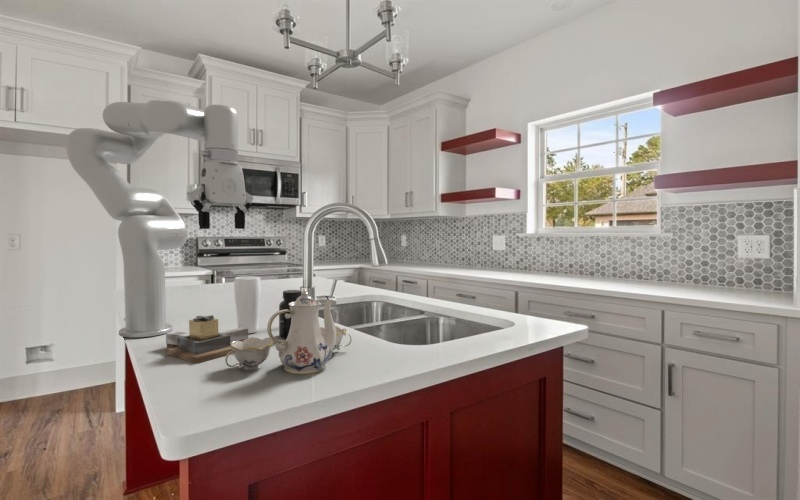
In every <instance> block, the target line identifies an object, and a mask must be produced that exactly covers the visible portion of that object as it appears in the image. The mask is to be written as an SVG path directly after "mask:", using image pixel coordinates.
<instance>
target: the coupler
mask: <svg viewBox="0 0 800 500" xmlns="http://www.w3.org/2000/svg"><path fill="white" fill-rule="evenodd" d="M188 326H189V327H188V329H189V330H188V331H189V332H188V333H189V339H192V340H196V341H199V342H200V341H204V340H208V339H213V338H217V337H218V332H219V319H218V318H215V317H214V315H212V314H211V315H207V316H203V315H197V316H196V317H195V318H193V319H189V320H188Z"/></svg>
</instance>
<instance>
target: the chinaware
mask: <svg viewBox="0 0 800 500" xmlns="http://www.w3.org/2000/svg"><path fill="white" fill-rule="evenodd" d="M301 295H302V296H300V297H298V298H297V299H296V302H291V303H289V305H290V309H291V310H288V309H285V310H281V311H279V310H278V311H276V312H275V313H273V314H272V315H271V317H269V320H268V323H267V326H266V327H267V328H266V329H267V330H266V331H267V336H269V338H264V339H261V338H259V337H255V336H254V337H248V338H247V339H245V340H244V341H233V342H231V346H230V347H231V349H232V350H233V351H231V352H229V353H228V354H227V355H226V356H225V365H226V366H227V367H229V368H234V367H236V366H237V365H238V367H237V368H238V369H239V370H240V369H241V370H242V369H244V370H247V371H252V370H258V369H260V368H262V364H263V363H264V362H265V361H266V360H267V358H268V357H269V354H270V350H271V347H272V346H273V345H274V342H275V348H276V350H277V351H278V357H279V359H280V362H281V364H282V365H283V367H284V369H283V370H284V372H286V373H288V374H292V375H308V374H309V375H310V374H316V373H318V372H321V371H323V370H325V369H326V367H327V363H328V362H329V361H330V359H331V358H332V355H333V354H335V352H334V350H338V351H340V349H341V348H340V347H348V346H350V345H351V343H352V336H351V334H350V333H348V332H347V329H346V328H342V329H341V328H340V327H339V326H336V325H335V321H334V319H333V315H332V312H331V306H332V304H333V302H334V299H331V298H330V299H328V300H327V301H326V302H325V304H324V306H323V322H324V324H323V325H324V327H322V326H320V322H319V321H320V320H319V312H320V311H319V310H320V306H321V304H322V303H321V302H320V301H317V300H314V298H313V297H312V296H310V295H309V293H308V291H307V290H306V289H304V290H303V291H302V293H301ZM284 312H290V313H291V314H288V313H286V314H285V318H286V319H289V318H290V317H291V327H290V331H289V334H288V337H287V339H285V340H283V339H278V338H276V337H275V336H274V335H273V333H272V325H273V322H274V320H275V319H276V318H277V317H279V314H281V313H284ZM346 335H348V336H349V342H348V343H347V344H344V345H343V344H341V343H342V340H343V337H346ZM233 352H234V353H233ZM230 353H232V354H230ZM229 354H230V355H234V358H235V359H236V361H237V362H236V363H235V364H233V365H230V364H229V363H228V358H229V357H230V355H229Z"/></svg>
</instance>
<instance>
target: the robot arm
mask: <svg viewBox="0 0 800 500" xmlns="http://www.w3.org/2000/svg"><path fill="white" fill-rule="evenodd" d="M102 120H103V122H104V123H105V125H106V126H107V127H108V128H109V129H110V130H111V131H109V130H104V129H99V128H92V127H82V128H77V129H74V130H72V131H71V132H70V133H69V134H68V136H67V139H66V155H67V159H68V160H69V164H71V166H72V168H73V169H74V171H75V172H76V173H77V174H78V176H79V177H80V178H81V179H82V180H83V181H84V182H85V184H86V185H87V186H88V187H89V188H90V190H92V193H93V194H94V196H95V197H96V198H97V200H98V201H99V203H100V204H101V206H102V207H103V208H104V210H105V211H106V212H107V214H108V215H109V216H110V218H112V219H113V220H116V221H118V222H119V221H120V222H119V223H120V224H119V226H118V229H117V236H118V237H117V238H118V240H119V245H120V248H121V253H122V262H123V282H124V283H123V285H124V314H125V315H124V316H125V317H124V318H123V320H124V323H125V327H122V328H121V329H119V330H118V335H119V336H120V337H123V338H130V339H131V338H132V339H134V338H148V337H156V336H160V335H164V334H165V335H166V333H169V332H173V331H172V330H173V328H174V327H173V325H172V324H170V323H167V303H166V302H167V301H166V299H167V298H166V297H167V296H166V295H167V294H166V271H165V270H166V267H165V263H164V261H163V259H162V257H161V256H160V254H159V252H158V251H163V250H165V251H166V250H176V249H179V248H181V247H183V246H184V245H185V244H186V242H187V240H188V233H189V231H188V228H187V225H186V223H185V222H184V220H183V218H182V217H181V216H180V214H179V213H178V211H177V210H176V209H175V207H174V206H173V205H172V203H170V201H169V199H168V198H167V197H166V196H165V195H164V194H163V193H161V192H160V191H159V190H156V189H152V188H142V187H135V186H134V185H132V184H130V183H129V182H128V181H127V179H126V178H125V176H124V175H123V174H122V173H121V172H120V170H118V169H117V168H116V167H114V166H113V165H111V164H109V163H115V164H121V165H131V164H134V163H136V162H137V161H139V160H140V159H141V158H142V157H143V156H144V155H145V154H146V153H147V151H148V150H149V149H150V148H151V147H152V146H153V145H154V144H155V143H156V141H157V140H158V139H160V137H163V136H164V135H165V134H170V135H174V136H179V137H183V138H188V139H191V140H195V141H200V142H204V150H200V153H199V154H200V156H201V157H203V159H204V162H202V164H201V169H200V176H199V186H198V187H195V188H194V189H192V190H190V191H188V192H187V193H186V195H187V197H188V198H189V199H188V200H189V201H190V205H192V207H193V208H195V211H196V212H198V213H197V214H198V215H197V216H198V227H199V229H200V230H210V228H211V220H210V219H211V218H210V217H211V216H210V215H211V214H210V211H208V210H209V209H210V207H211V206H213V205H215V206H217V205H218V206H232V207H233V209H234V210H235V211H236V212H235V213H234V228H235V229H237V230H243V229H245V228H246V227H245V226H246V213H247V212H248V210H249V209H250V208H251V207H252V206H251V204H252V202H253V200H254V196H253V195H252V194H250V193H249V192H247V191H246V184H245V177H244V171H243V167H242V165H239V135H238V134H239V132H238V131H239V130H238V129H239V127H238V126H239V125H238V112H237V111H236V109H235V108H234V107H232V106H230V105H229V106H228V105H225V104H211V105H210V104H209V105H206V107H205V108H204V109H201V108H198V107H195V106H191V105H189V104H185V103H182V102H178V101H172V100H158V99H157V100H155V99H154V100H150V101H147V102H145V103H144V102H134V101H133V102H132V101H131V102H129V101H114V102H112V103H109V104H108V105H107V106H106V107H105V108H104V109H103V111H102ZM198 195H199V199H200V200H199V199H198Z"/></svg>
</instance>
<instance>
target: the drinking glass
mask: <svg viewBox="0 0 800 500" xmlns="http://www.w3.org/2000/svg"><path fill="white" fill-rule="evenodd" d="M261 282H262V281H261V276H253V275H249V276H247V275H246V276H245V275H244V276H236V277H234V282H233V284H234V285H233V286H234V287H233V288H234V289H233V290H234V291H233V292H234V301H235V312H236V319H237V328H241V327H243V328H248V335H250V334H254V333H255V334H256V333H257V332H258V331H259V320H260V306H261V293H262V291H261V289H262V287H261V286H262V283H261Z"/></svg>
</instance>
